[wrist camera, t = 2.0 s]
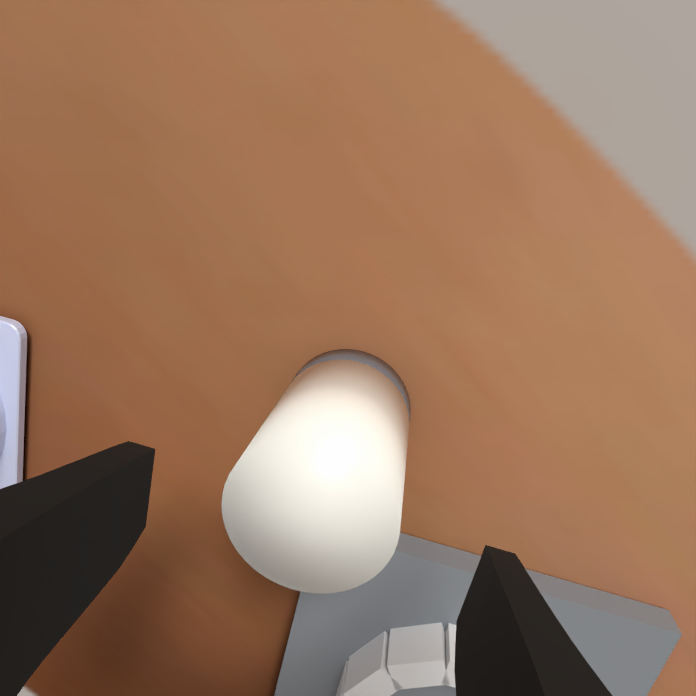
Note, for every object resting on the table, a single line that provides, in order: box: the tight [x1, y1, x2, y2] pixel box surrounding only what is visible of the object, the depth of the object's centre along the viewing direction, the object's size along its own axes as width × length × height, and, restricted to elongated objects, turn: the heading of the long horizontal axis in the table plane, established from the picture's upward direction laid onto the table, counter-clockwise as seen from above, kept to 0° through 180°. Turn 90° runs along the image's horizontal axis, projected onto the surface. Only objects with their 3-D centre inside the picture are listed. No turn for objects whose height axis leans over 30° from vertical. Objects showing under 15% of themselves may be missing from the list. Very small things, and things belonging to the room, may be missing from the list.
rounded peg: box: [222, 349, 410, 594], centre depth 15 cm, size 4×4×6 cm
